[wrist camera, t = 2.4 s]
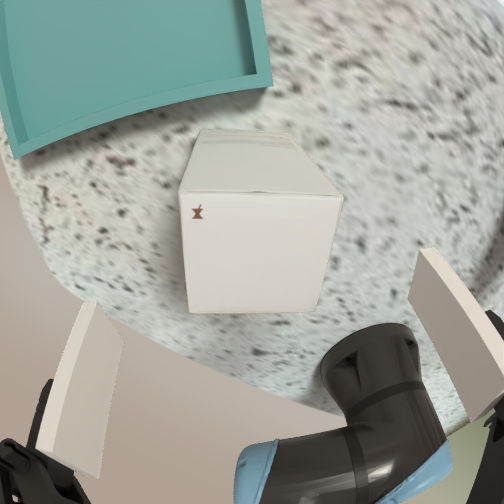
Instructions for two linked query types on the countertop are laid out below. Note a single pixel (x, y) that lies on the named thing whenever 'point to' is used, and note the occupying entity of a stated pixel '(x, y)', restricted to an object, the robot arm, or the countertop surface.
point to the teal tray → (120, 60)
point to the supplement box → (255, 224)
